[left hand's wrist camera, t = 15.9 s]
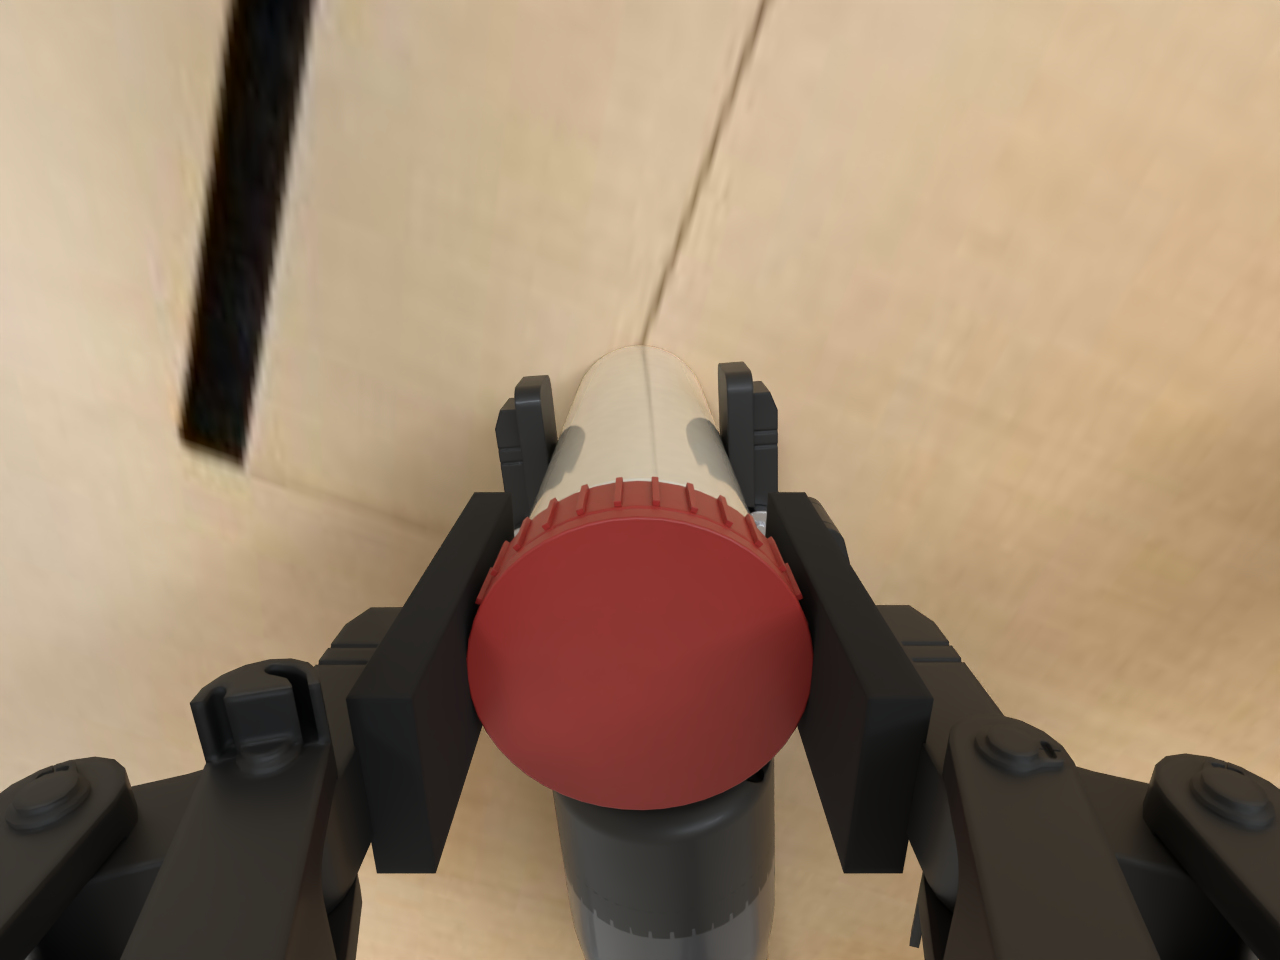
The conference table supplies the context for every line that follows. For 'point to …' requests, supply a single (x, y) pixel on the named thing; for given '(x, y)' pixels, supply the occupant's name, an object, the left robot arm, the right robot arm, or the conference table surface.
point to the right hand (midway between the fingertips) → (632, 377)
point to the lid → (639, 647)
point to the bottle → (639, 430)
